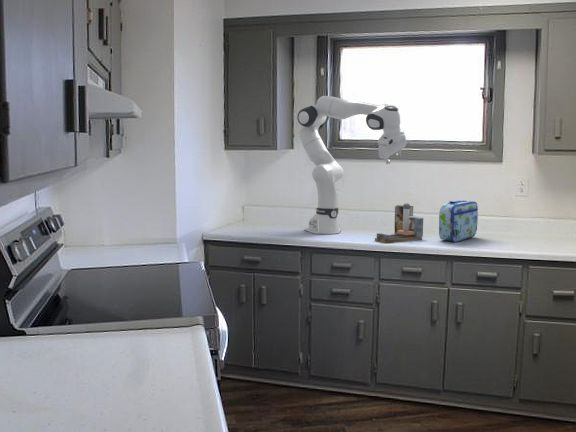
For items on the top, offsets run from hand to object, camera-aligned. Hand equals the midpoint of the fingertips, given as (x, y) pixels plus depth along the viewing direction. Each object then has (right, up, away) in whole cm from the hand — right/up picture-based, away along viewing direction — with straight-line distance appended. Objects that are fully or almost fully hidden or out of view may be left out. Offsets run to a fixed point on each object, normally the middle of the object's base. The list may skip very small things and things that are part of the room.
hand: (393, 160), depth 334 cm
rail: (+2, -42, -3) cm, 43 cm away
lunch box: (+34, -42, 0) cm, 55 cm away
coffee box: (+8, -40, +15) cm, 44 cm away
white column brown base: (+7, -39, -1) cm, 40 cm away
